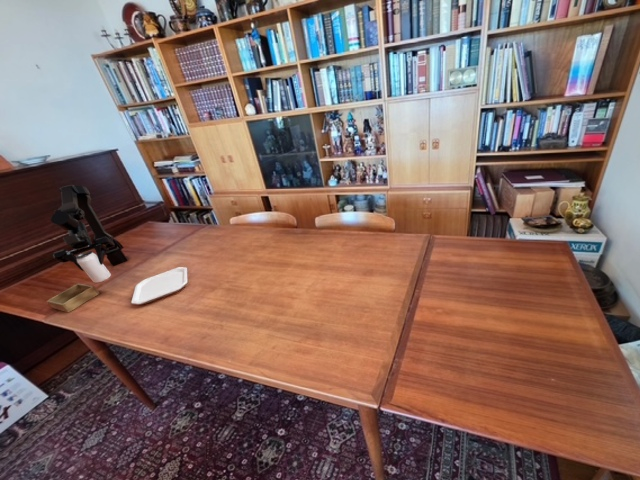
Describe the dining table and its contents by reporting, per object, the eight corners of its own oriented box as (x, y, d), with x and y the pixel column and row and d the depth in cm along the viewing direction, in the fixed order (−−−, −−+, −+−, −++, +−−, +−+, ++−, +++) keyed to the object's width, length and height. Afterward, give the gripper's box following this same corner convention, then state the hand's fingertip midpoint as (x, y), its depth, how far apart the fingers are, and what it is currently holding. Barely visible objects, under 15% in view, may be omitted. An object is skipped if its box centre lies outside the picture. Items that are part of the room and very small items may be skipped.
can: (107, 280, 123) (88, 256, 117) (90, 284, 123) (70, 260, 116) (114, 272, 129) (96, 249, 122) (98, 276, 128) (79, 253, 121)
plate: (132, 311, 113) (129, 307, 112) (139, 285, 129) (136, 281, 128) (189, 290, 119) (186, 285, 118) (188, 268, 135) (186, 264, 134)
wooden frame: (84, 290, 134) (78, 283, 132) (99, 293, 129) (93, 286, 127) (53, 308, 125) (46, 301, 123) (68, 312, 120) (61, 304, 118)
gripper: (36, 235, 112) (50, 271, 110) (94, 218, 119) (107, 251, 117) (57, 245, 122) (69, 278, 120) (108, 229, 129) (121, 260, 127)
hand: (92, 267), depth 121 cm, fingers closed on can, 6 cm apart
